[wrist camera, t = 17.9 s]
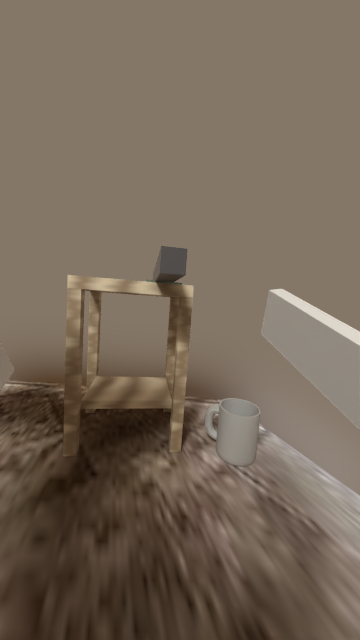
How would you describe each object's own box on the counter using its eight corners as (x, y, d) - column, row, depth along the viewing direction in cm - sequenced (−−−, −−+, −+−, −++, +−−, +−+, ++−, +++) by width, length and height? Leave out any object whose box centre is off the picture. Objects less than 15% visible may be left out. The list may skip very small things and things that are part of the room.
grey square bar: (159, 272, 25) (161, 246, 25) (152, 285, 50) (153, 272, 50) (185, 275, 25) (187, 249, 25) (165, 286, 51) (166, 274, 51)
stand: (62, 456, 36) (68, 273, 34) (87, 408, 52) (92, 281, 49) (180, 451, 39) (193, 284, 37) (170, 408, 55) (179, 288, 53)
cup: (251, 474, 35) (256, 422, 35) (195, 450, 40) (199, 404, 39) (258, 449, 42) (263, 405, 41) (209, 431, 46) (213, 391, 46)
